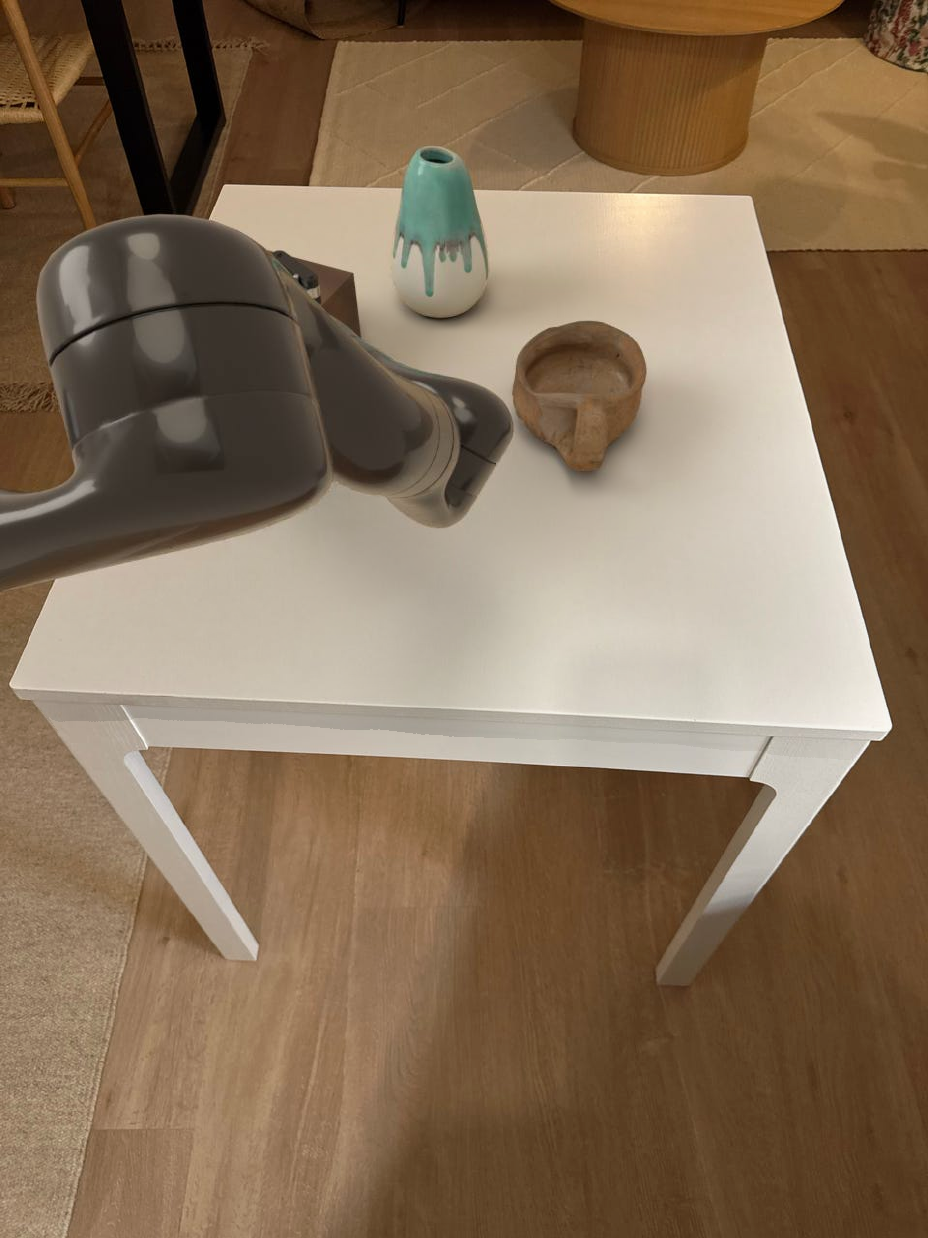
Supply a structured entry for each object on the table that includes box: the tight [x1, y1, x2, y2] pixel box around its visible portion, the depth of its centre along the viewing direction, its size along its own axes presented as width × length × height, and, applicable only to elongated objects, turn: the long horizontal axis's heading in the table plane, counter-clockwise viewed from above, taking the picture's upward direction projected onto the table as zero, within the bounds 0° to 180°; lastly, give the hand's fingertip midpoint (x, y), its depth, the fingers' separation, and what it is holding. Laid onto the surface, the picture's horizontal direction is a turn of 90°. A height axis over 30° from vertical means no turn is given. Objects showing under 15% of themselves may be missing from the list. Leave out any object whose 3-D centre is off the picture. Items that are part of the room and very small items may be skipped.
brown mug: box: [511, 320, 647, 472], centre depth 91 cm, size 18×14×10 cm
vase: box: [390, 145, 490, 319], centre depth 102 cm, size 12×12×18 cm
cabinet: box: [267, 249, 362, 339], centre depth 99 cm, size 15×13×9 cm
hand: (185, 273), depth 78 cm, fingers open, 8 cm apart
